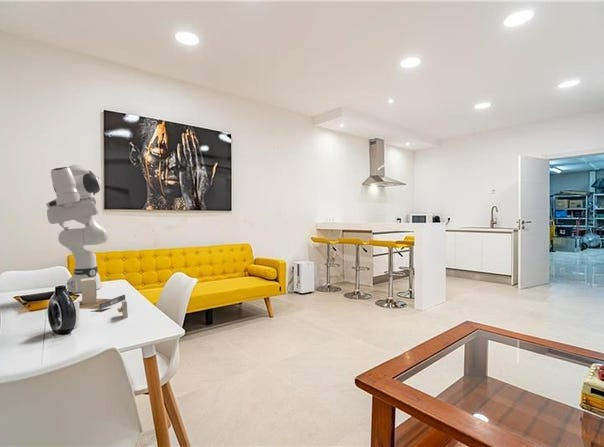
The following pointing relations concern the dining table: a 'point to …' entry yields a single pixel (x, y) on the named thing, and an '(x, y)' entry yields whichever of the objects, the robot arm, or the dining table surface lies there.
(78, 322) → the white cup
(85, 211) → the robot arm
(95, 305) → the shelf plank
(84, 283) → the carton
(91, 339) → the dining table surface
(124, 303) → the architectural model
